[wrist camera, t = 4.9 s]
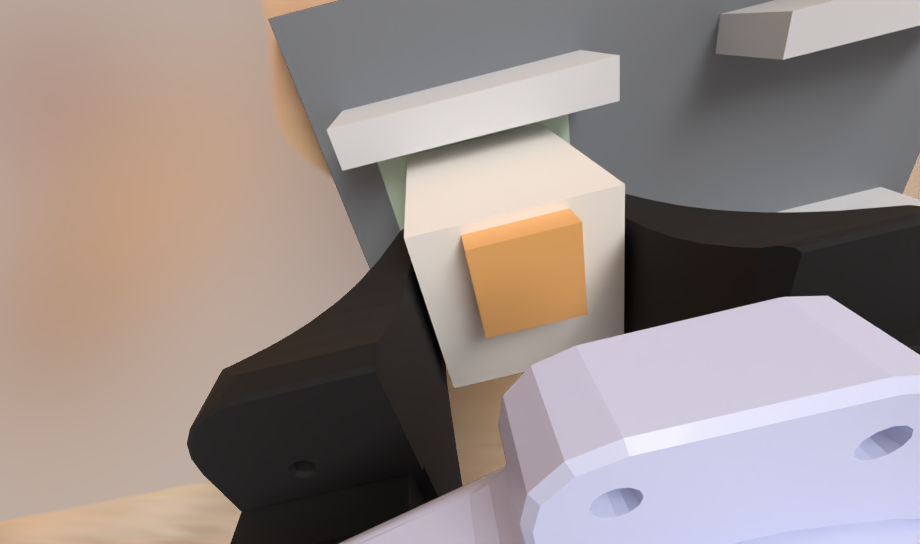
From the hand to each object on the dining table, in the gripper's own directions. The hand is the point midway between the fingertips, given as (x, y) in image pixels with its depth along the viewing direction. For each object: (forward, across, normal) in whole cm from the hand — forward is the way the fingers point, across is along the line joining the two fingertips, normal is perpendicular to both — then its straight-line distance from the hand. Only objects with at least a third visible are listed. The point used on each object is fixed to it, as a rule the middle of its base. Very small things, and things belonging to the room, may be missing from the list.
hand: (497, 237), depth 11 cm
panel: (+3, -6, 0) cm, 6 cm away
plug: (+2, 0, 0) cm, 2 cm away
